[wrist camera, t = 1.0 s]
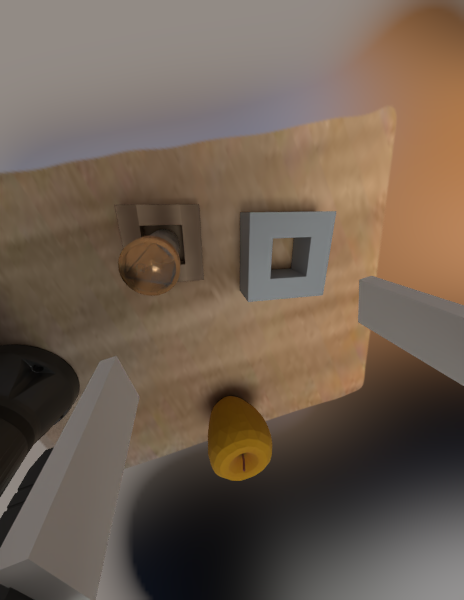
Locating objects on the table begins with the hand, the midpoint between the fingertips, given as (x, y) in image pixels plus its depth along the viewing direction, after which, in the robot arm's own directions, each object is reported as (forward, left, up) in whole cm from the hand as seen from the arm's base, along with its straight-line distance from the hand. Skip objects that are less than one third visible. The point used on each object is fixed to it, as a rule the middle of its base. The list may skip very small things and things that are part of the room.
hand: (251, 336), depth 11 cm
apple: (+3, -31, -24) cm, 39 cm away
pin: (-6, +2, -23) cm, 24 cm away
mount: (-6, +2, -23) cm, 24 cm away
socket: (+11, 0, -23) cm, 26 cm away
